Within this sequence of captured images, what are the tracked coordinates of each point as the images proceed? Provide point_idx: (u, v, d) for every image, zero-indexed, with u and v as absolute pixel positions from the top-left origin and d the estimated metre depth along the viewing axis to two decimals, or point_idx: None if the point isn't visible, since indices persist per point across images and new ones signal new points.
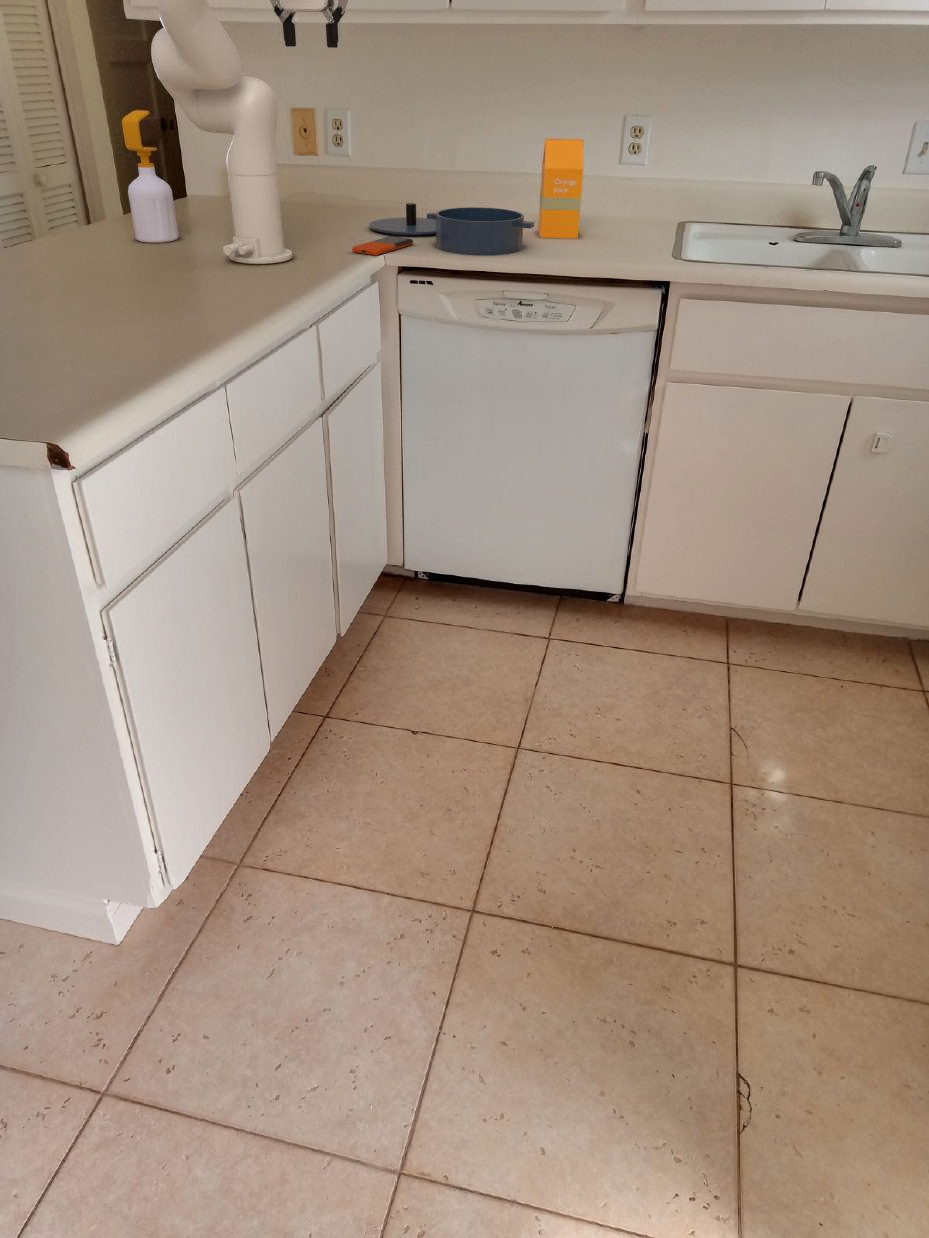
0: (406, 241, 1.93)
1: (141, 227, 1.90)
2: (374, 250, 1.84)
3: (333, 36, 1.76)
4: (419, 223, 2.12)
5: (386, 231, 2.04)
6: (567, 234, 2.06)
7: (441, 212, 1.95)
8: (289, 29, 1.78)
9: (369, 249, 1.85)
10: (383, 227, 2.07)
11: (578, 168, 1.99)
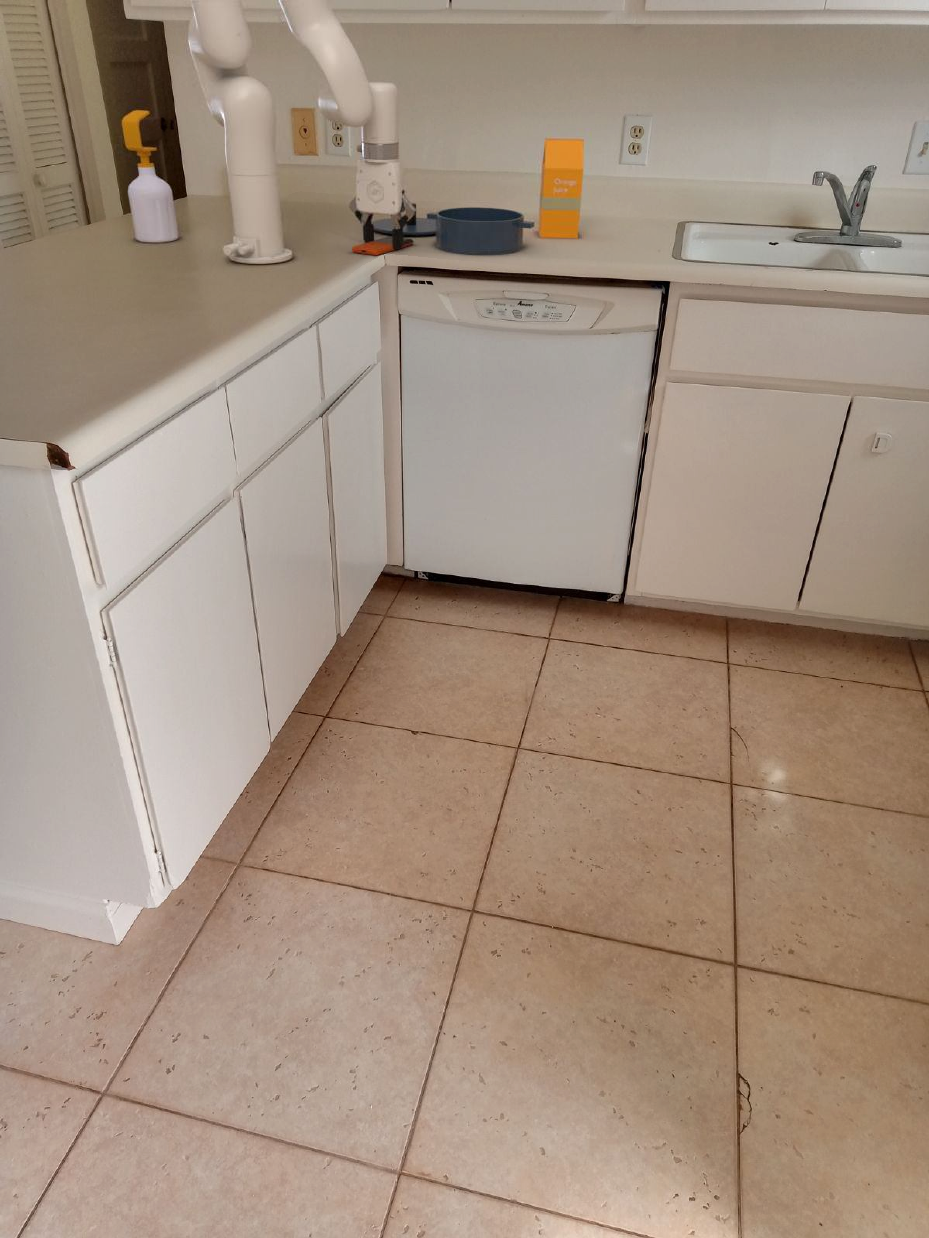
0: (406, 241, 1.93)
1: (141, 227, 1.90)
2: (374, 250, 1.84)
3: (398, 239, 1.88)
4: (419, 223, 2.12)
5: (386, 231, 2.04)
6: (567, 234, 2.06)
7: (441, 212, 1.95)
8: (369, 231, 1.90)
9: (369, 249, 1.85)
10: (383, 227, 2.07)
11: (578, 168, 1.99)
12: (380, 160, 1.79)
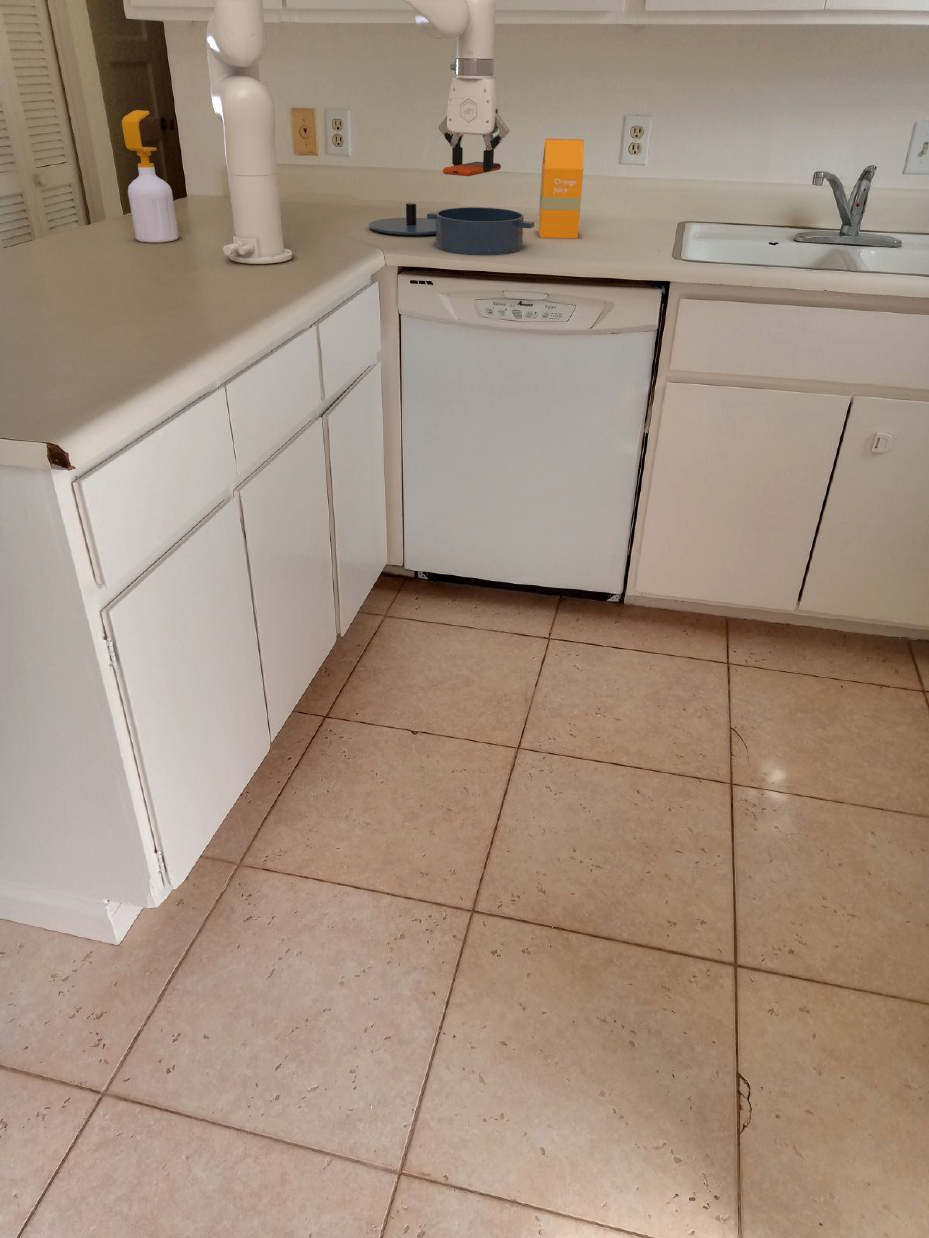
0: (495, 165, 1.89)
1: (141, 227, 1.90)
2: (466, 170, 1.81)
3: (489, 161, 1.84)
4: (419, 223, 2.12)
5: (386, 231, 2.04)
6: (567, 234, 2.06)
7: (441, 212, 1.95)
8: (458, 154, 1.86)
9: (461, 170, 1.81)
10: (383, 227, 2.07)
11: (578, 168, 1.99)
12: (476, 76, 1.75)
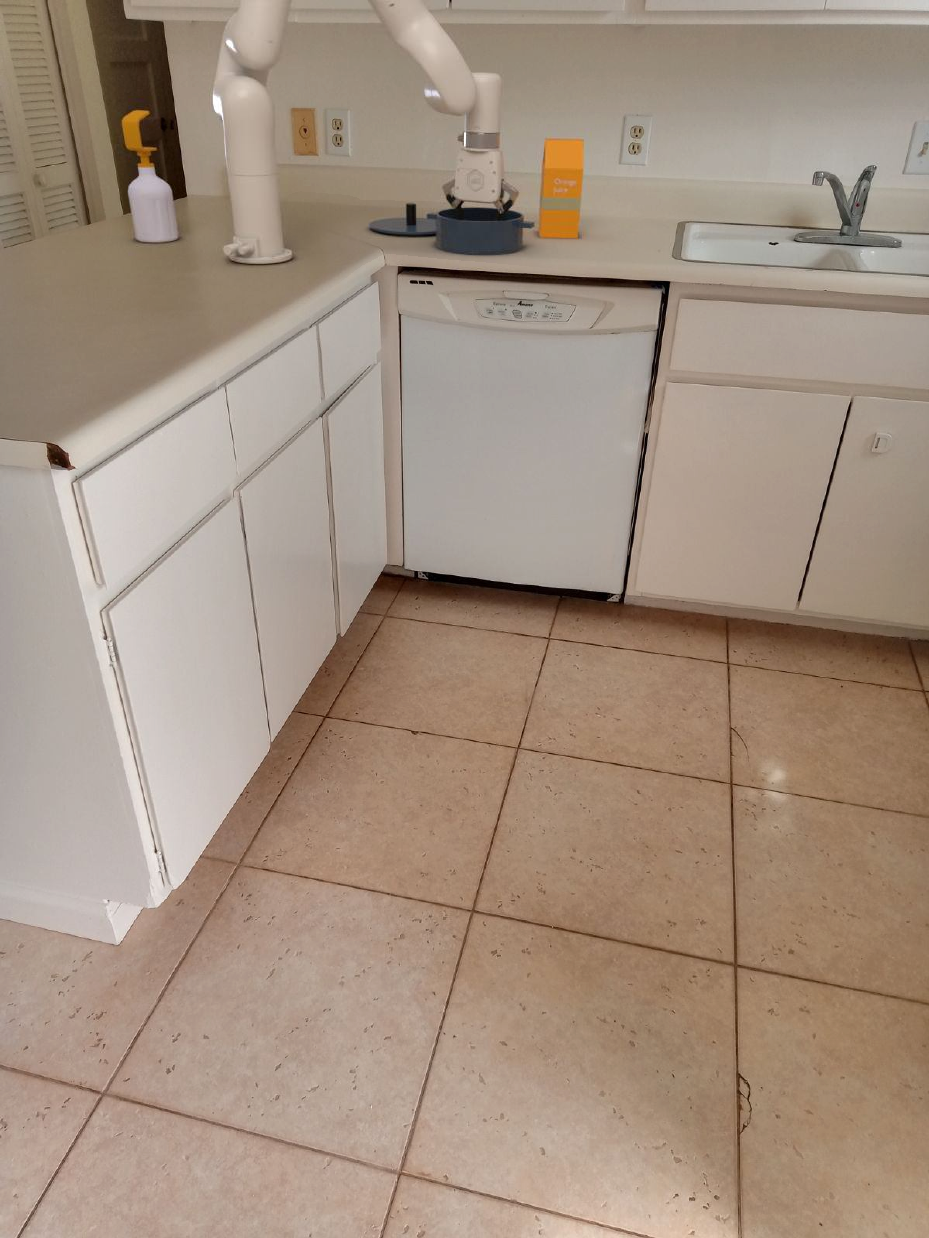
0: None
1: (141, 227, 1.90)
2: None
3: None
4: (419, 223, 2.12)
5: (386, 231, 2.04)
6: (567, 233, 2.06)
7: (441, 212, 1.95)
8: (459, 214, 1.94)
9: None
10: (383, 227, 2.07)
11: (578, 168, 1.99)
12: (482, 149, 1.82)
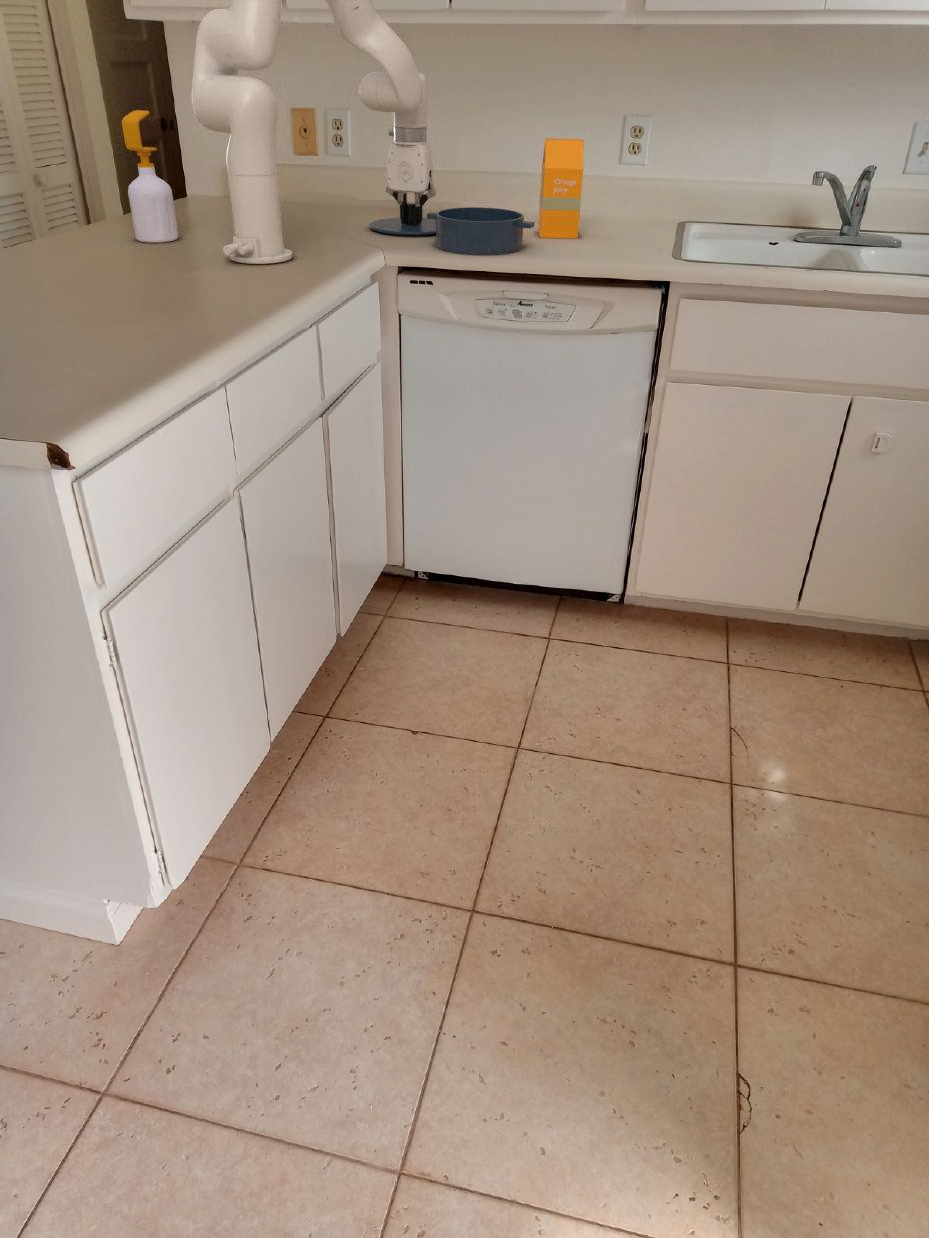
0: None
1: (141, 227, 1.90)
2: None
3: (418, 216, 2.08)
4: None
5: (386, 231, 2.04)
6: (567, 233, 2.06)
7: (441, 212, 1.95)
8: (405, 210, 2.09)
9: None
10: (383, 227, 2.07)
11: (578, 168, 1.99)
12: (410, 143, 1.98)
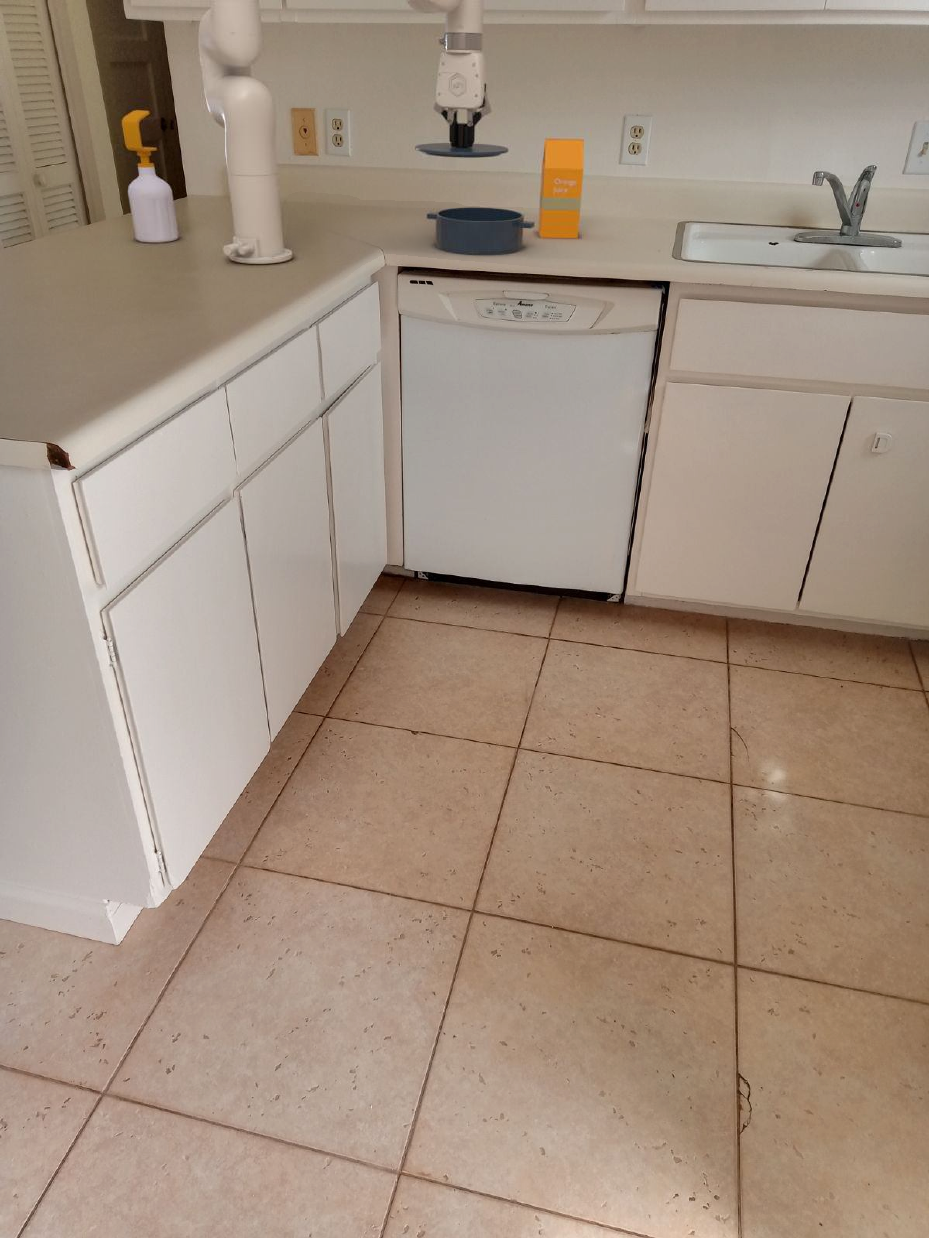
0: None
1: (141, 227, 1.90)
2: None
3: (470, 137, 1.87)
4: None
5: (436, 152, 1.83)
6: (567, 233, 2.06)
7: (441, 212, 1.95)
8: (455, 131, 1.88)
9: None
10: (432, 149, 1.86)
11: (578, 168, 1.99)
12: (464, 50, 1.77)
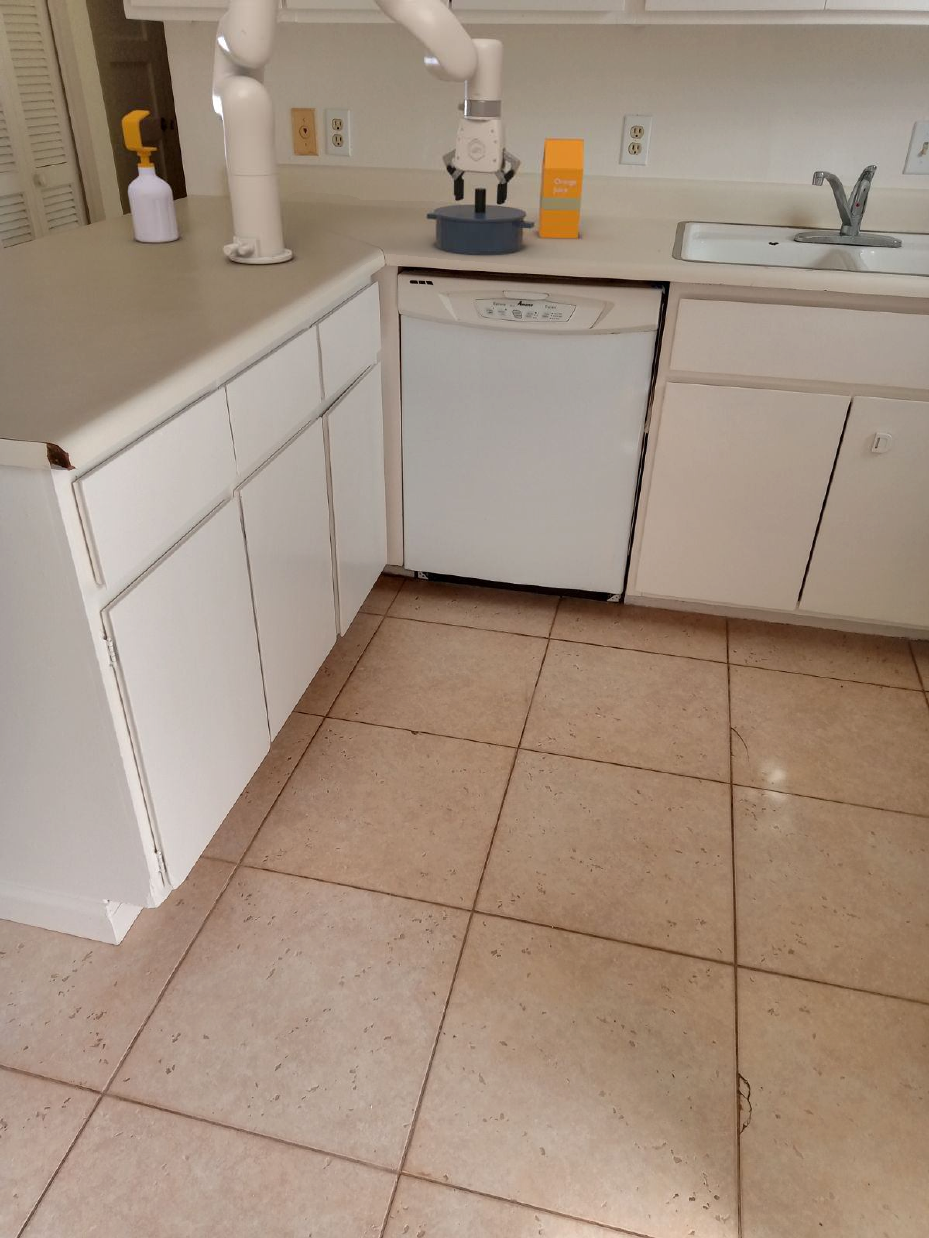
0: None
1: (141, 227, 1.90)
2: None
3: (503, 194, 1.88)
4: (488, 210, 1.94)
5: (455, 218, 1.85)
6: (567, 233, 2.06)
7: None
8: (460, 185, 1.90)
9: None
10: (450, 214, 1.88)
11: (578, 168, 1.99)
12: (483, 117, 1.79)
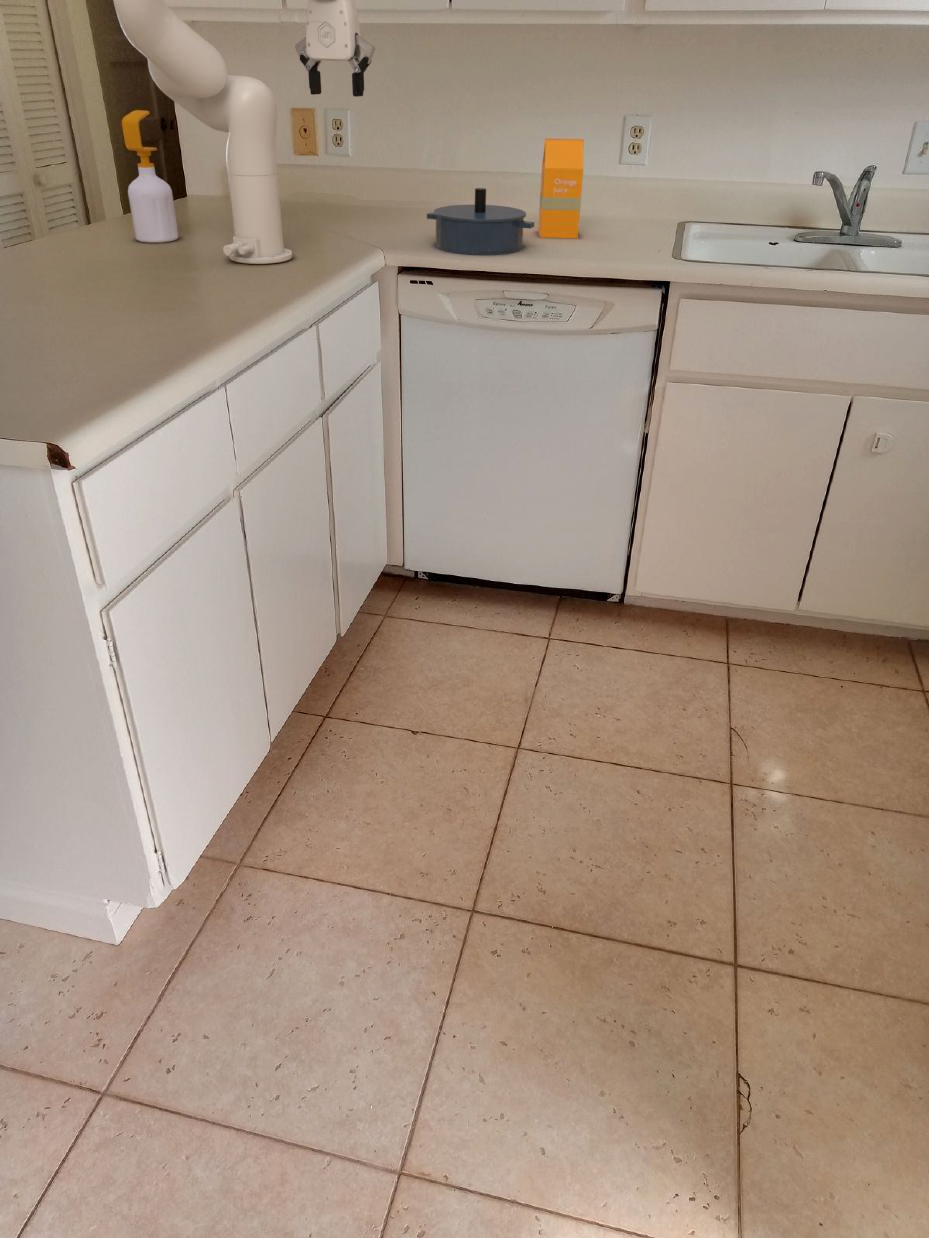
0: None
1: (141, 227, 1.90)
2: None
3: (359, 85, 1.75)
4: (488, 210, 1.94)
5: (455, 218, 1.85)
6: (567, 233, 2.06)
7: None
8: (315, 77, 1.77)
9: None
10: (450, 214, 1.88)
11: (578, 168, 1.99)
12: None
